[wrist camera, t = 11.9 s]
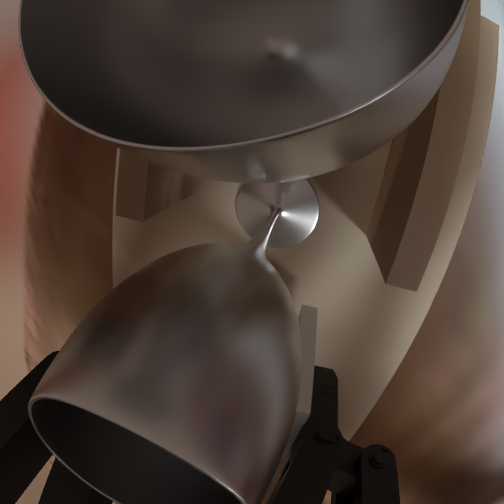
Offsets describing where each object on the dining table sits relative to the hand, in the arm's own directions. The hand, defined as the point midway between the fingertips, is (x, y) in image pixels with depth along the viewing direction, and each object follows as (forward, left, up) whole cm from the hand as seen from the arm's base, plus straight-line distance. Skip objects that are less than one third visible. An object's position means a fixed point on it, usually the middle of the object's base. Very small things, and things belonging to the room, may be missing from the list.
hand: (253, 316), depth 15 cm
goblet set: (0, 0, -1) cm, 1 cm away
